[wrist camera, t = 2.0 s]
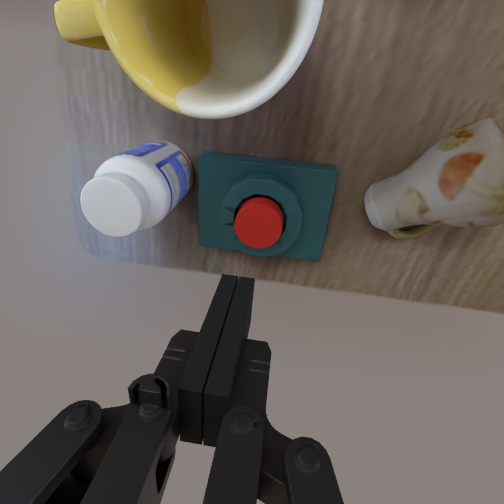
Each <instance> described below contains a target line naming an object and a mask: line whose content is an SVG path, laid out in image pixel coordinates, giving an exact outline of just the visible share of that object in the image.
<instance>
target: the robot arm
mask: <svg viewBox="0 0 504 504" xmlns="http://www.w3.org/2000/svg"><path fill="white" fill-rule="evenodd" d="M254 281H255V279H254V278H247V277H240V276H239V279H238V276H233V275H225V274H222V277H221V280H220V282H219V285H218V287H217V290H216V292H215V295H214V297H213V300H212V302H211V305H210V307H209V310H208V313H207V315H206V317H205V320H204V323H203V325H202V328H201V330H200V332H192V331H187V330H180V331H179V332H178V333H176V334H175V335H174V336H173V337H172V338H171V341H170V342H169V344H168V346H167V349H166V350H165V353H164V354H163V357H162V359H161V360H160V363H159V364H158V366H157V368H156V370H155V372H154V374H147V375H143V376H141V377H139V378H137V379H136V380H134V381H133V382H132V384H131V385H130V386H129V387H128V391H129V398H130V403H129V404H127V405H123V406H119V407H111V408H104V409H101V407H100V405H99V404H97V403H96V402H95V401H90V400H83V401H78V402H75V403H73V404H71V405H69V406H68V407H66V408H65V409H64V410H62V411H61V412H60V413H59V414H58V415H57V416H56V417H55V418H54V419H53V420H52V421H51V422H50V423H49V424H48V425H47V426H46V427H45V428H44V429H43V430H42V431H41V432H40V433H39V434H38V435H37V436H36V437H35V438H34V439H33V440H32V441H31V442H30V443H29V444H28V445H27V446H26V447H25V448H24V449H23V450H22V451H21V452H20V453H19V454H18V455H17V456H16V457H15V458H13V459H12V460H11V461H10V462H9V463H8V464H7V465H6V466H5V467H4V468H3V469H2V470H1V472H0V504H160V503H161V499H162V496H163V493H164V490H165V487H166V484H167V481H168V478H169V475H170V471H171V468H172V465H173V462H174V459H175V452H176V451H175V445H176V443H177V440H178V437H179V434H180V441H184V442H190V443H196V444H202V441H203V442H204V443H203V445H206V446H212V447H216V449H215V453H214V457H213V462H212V466H211V470H210V474H209V479H208V483H207V487H206V492H205V496H204V500H203V504H256V500H257V499H259V500H260V501H262V502H263V503H265V504H344V503H343V500H342V496H341V493H340V490H339V486H338V483H337V480H336V476H335V473H334V470H333V467H332V463H331V460H330V457H329V455H328V453H327V451H326V449H325V448H324V447H323V446H322V445H321V444H320V443H319V442H317V441H316V440H314V439H312V438H308V437H299V438H296V439H294V440H292V439H290V438H288V437H286V436H284V435H282V434H281V433H279V432H278V431H277V430H275V429H274V428H273V427H272V425H271V424H270V422H269V421H268V419H267V415H266V400H267V390H268V389H267V388H268V380H269V370H270V360H271V350H270V348H269V346H268V343H267V342H264V341H257V340H251V339H247V337H248V332H249V327H250V321H251V311H252V302H253V292H254Z"/></svg>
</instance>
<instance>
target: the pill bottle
mask: <svg viewBox="0 0 504 504" xmlns="http://www.w3.org/2000/svg"><path fill="white" fill-rule="evenodd" d="M193 181H194V170H193V166H192V163H191V161H190V159H189V158H188V156H187V155H186V154H185V153H184V151H183V150H181V149H180V148H179V147H178V146H176V145H175V144H172V143H170V142H167V141H152V142H148V143H146V144H143V145H141V146H139V147H136V148H134V149H131V150H129V151H126V152H124V153H121V154H119V155H116V156H114V157H112V158H110V159H108V160H106V161H105V162H104V163H103V164H102V165H101V166H100V167H99V168H98V169H97V171H96V173H95V176H94V178H93V179H92V180H90V181H89V182H88V183H87V184H86V185H85V186H84V188H83V189H82V192H81V196H80V202H81V208H82V211H83V213H84V215H85V217H86V219H87V220H88V221H89V223H90V224H91V225H92V226H93V227H94V228H96V229H97V230H98V231H100V232H101V233H103V234H105V235H108V236H112V237H125V236H128V235H130V234H132V233H134V232H135V231H140V230H146V229H149V228H152V227H153V226H155V225H157V224H158V223H159V222H160V221H161V220H163V219H164V218H165V217H166V216H167V214H168V213H169V212H170V211H171V210H172V209H173V208H174V207H175V206H176V205H177V204H178V203H179V202H180V201H181V200H182V199H183V198H184V197H185V196H186V195H187V194H188V192H189V191H190V189H191V187H192V185H193Z"/></svg>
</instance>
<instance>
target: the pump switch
mask: <svg viewBox="0 0 504 504" xmlns="http://www.w3.org/2000/svg"><path fill="white" fill-rule="evenodd" d="M337 177H338V170H337V168H336V166H335V165H326V164H317V163H308V162H299V161H289V160H280V159H271V158H262V157H252V156H243V155H234V154H225V153H216V152H204V153H203V154H201V155H200V156H199V157H198V245H199V246H205V247H212V248H220V249H228V250H235V251H242V252H243V253H245V254H246V255H252V256H260V257H269V256H272V255H273V256H281V257H288V258H296V259H303V260H311V261H318V262H319V261H320V258H321V253H322V248H323V243H324V239H325V234H326V229H327V224H328V220H329V215H330V210H331V205H332V201H333V196H334V191H335V186H336V182H337ZM255 197H264V198H268V199H270V200H272V201H274V202H275V203H276V204H277V205H278V206H279V207H280V209H281V211H282V214H283V225H282V232H281V235H280V237H279V239H278V240H277V241H276V242H275V243H274V244H273V245H271V246H269V247H266V248H253V247H250V246H247V245H246V244H244V243H243V242H242V241H241V240H240V239H239V238H238V236H237V234H236V232H235V227H234V224H235V219H236V216H237V214H238V212H239V210H240V208H241V206H242V205H243V204H244V203H245V202H246V201H247V200H249V199H252V198H255Z"/></svg>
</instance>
